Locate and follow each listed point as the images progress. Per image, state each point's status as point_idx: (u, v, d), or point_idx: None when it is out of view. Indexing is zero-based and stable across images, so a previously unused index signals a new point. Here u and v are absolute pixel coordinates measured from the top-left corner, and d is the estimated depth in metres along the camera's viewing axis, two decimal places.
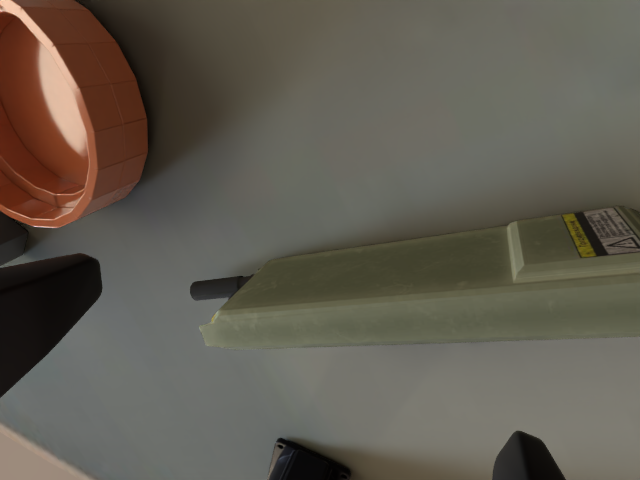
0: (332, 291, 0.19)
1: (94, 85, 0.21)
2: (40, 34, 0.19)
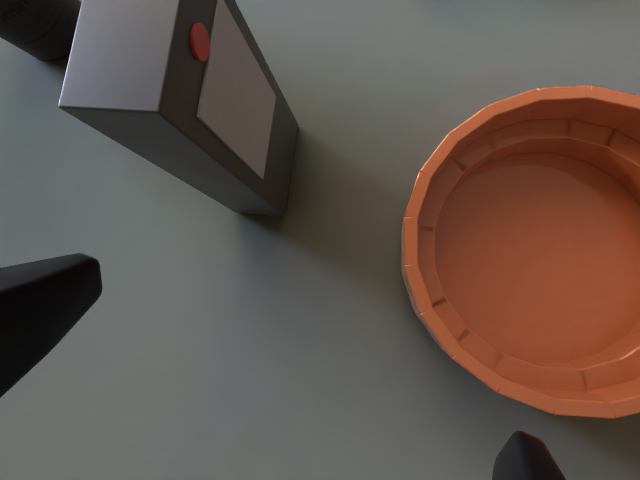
0: None
1: None
2: None
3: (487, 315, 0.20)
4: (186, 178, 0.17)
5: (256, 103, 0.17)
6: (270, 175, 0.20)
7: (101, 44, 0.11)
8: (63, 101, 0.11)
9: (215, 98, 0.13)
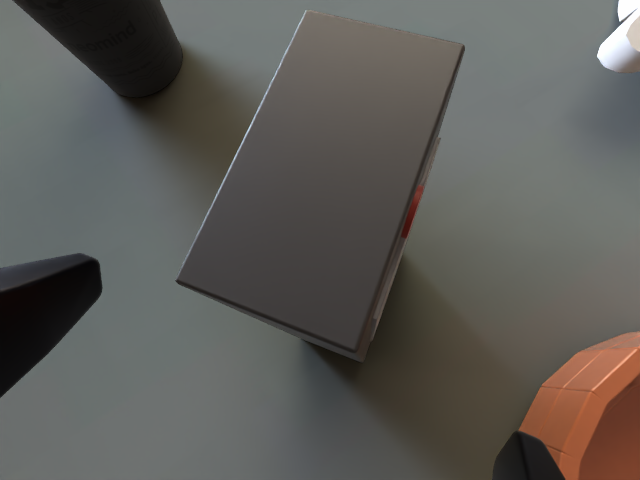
0: None
1: None
2: None
3: None
4: None
5: None
6: None
7: (274, 194, 0.07)
8: (186, 274, 0.06)
9: (392, 279, 0.09)
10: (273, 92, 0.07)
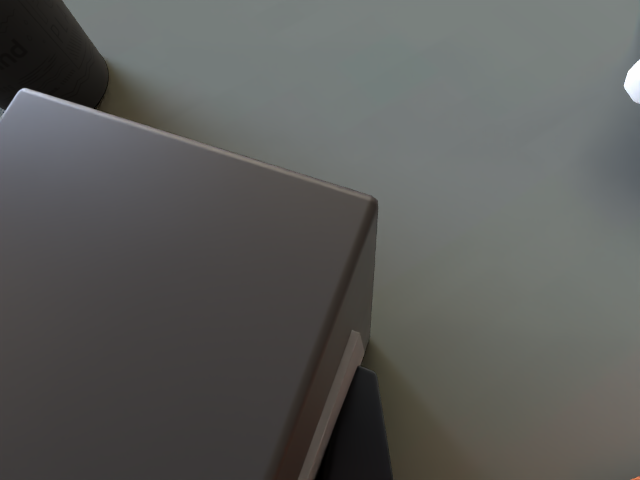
0: None
1: None
2: None
3: None
4: None
5: None
6: None
7: None
8: None
9: None
10: None
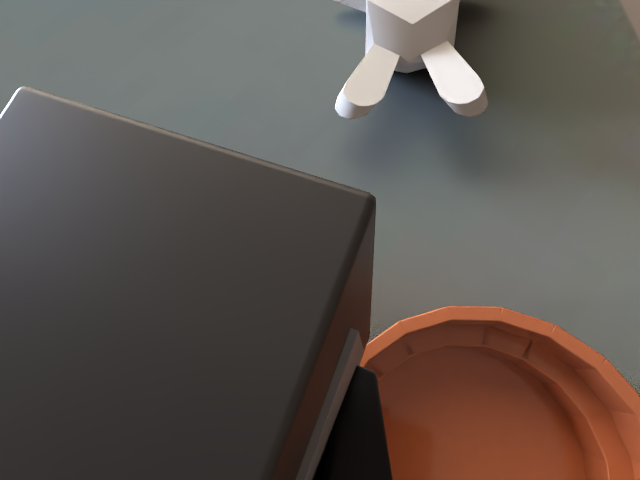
0: None
1: None
2: None
3: None
4: None
5: None
6: None
7: None
8: None
9: None
10: None
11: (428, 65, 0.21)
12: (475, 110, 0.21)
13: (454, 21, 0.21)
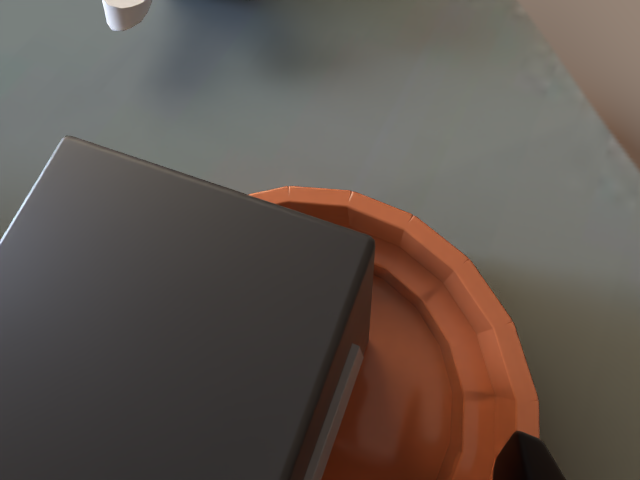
0: None
1: None
2: None
3: None
4: None
5: (338, 424, 0.08)
6: None
7: None
8: None
9: None
10: None
11: None
12: None
13: None
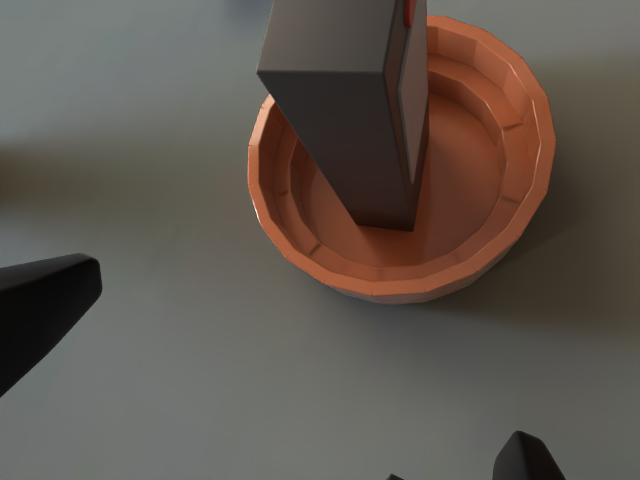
0: None
1: None
2: (546, 125, 0.16)
3: (372, 248, 0.21)
4: (336, 177, 0.15)
5: (421, 95, 0.15)
6: (414, 182, 0.17)
7: (308, 1, 0.09)
8: (262, 65, 0.09)
9: (409, 76, 0.11)
10: None
11: None
12: None
13: None
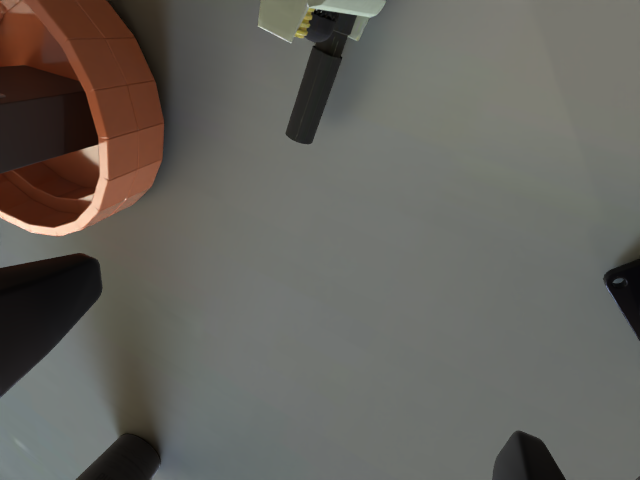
0: None
1: None
2: None
3: None
4: None
5: None
6: (20, 90, 0.19)
7: None
8: None
9: None
10: None
11: None
12: None
13: None
